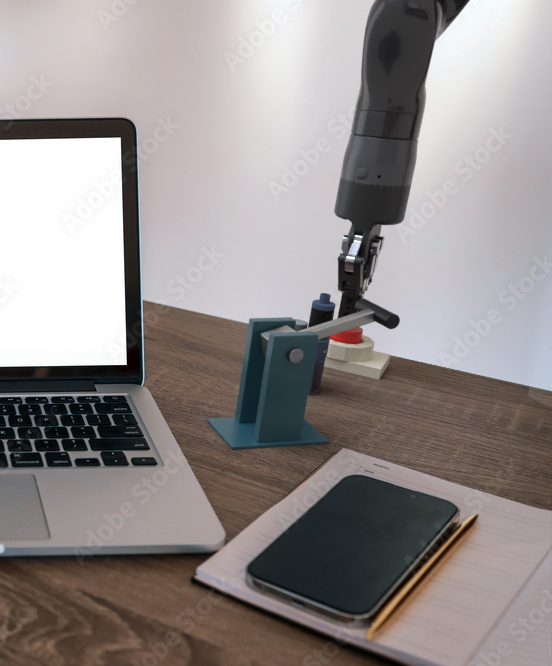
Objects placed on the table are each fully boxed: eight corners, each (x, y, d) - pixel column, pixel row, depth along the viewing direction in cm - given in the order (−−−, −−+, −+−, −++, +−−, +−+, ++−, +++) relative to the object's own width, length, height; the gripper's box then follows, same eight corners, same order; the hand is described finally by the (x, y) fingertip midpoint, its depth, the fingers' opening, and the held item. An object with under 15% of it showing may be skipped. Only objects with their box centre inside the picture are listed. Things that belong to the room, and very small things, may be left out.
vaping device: (310, 404, 84) (329, 299, 80) (269, 388, 88) (286, 286, 84) (323, 399, 86) (342, 295, 82) (283, 383, 89) (299, 283, 85)
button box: (387, 370, 95) (393, 340, 94) (377, 387, 90) (383, 355, 88) (305, 351, 100) (310, 322, 98) (291, 366, 95) (296, 335, 93)
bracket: (295, 423, 79) (314, 314, 75) (327, 451, 74) (349, 335, 70) (204, 429, 77) (219, 317, 73) (230, 458, 72) (248, 339, 68)
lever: (368, 314, 76) (367, 291, 75) (400, 331, 72) (399, 307, 71) (255, 350, 75) (252, 328, 74) (281, 370, 70) (278, 347, 69)
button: (363, 340, 94) (366, 326, 93) (356, 348, 91) (359, 334, 91) (333, 333, 96) (335, 320, 95) (325, 341, 93) (328, 327, 92)
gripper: (401, 188, 80) (368, 345, 85) (420, 176, 90) (390, 316, 96) (327, 179, 83) (300, 330, 89) (354, 168, 94) (328, 304, 100)
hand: (347, 323), depth 93 cm, fingers closed
